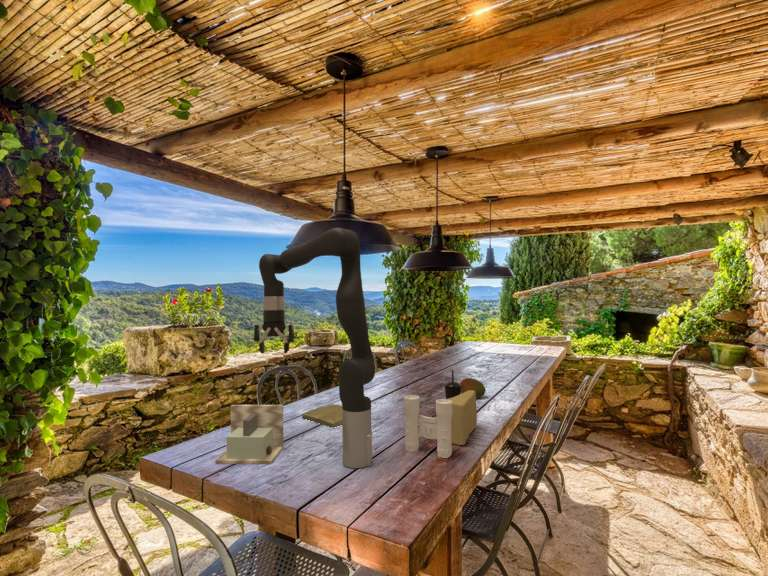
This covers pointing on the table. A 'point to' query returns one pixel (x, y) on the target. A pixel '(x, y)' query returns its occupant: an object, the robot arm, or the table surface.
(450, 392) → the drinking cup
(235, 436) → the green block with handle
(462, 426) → the cheese
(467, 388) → the fruit
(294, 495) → the table surface
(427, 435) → the binoculars
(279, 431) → the wooden stand
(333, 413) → the decorative tile
